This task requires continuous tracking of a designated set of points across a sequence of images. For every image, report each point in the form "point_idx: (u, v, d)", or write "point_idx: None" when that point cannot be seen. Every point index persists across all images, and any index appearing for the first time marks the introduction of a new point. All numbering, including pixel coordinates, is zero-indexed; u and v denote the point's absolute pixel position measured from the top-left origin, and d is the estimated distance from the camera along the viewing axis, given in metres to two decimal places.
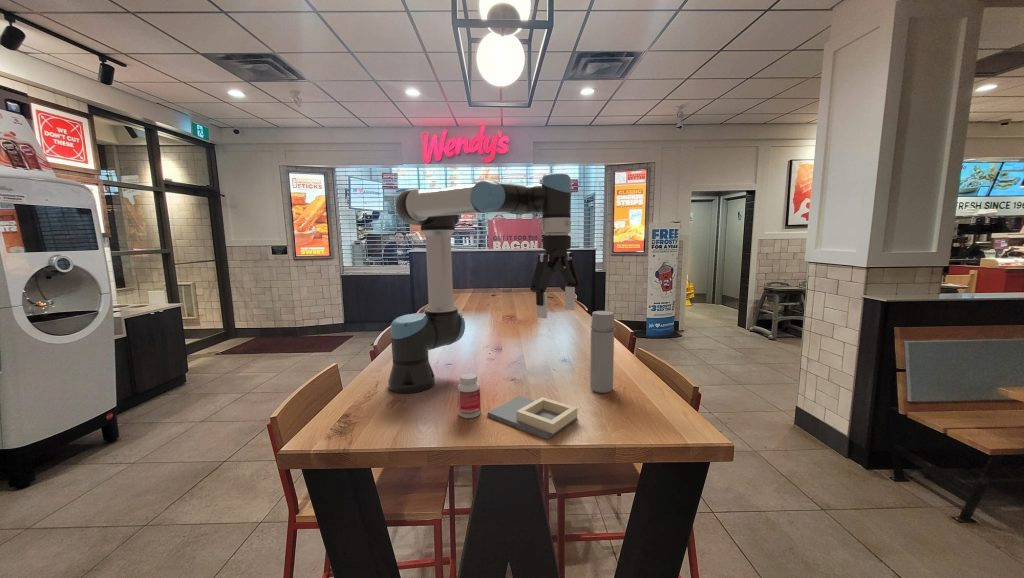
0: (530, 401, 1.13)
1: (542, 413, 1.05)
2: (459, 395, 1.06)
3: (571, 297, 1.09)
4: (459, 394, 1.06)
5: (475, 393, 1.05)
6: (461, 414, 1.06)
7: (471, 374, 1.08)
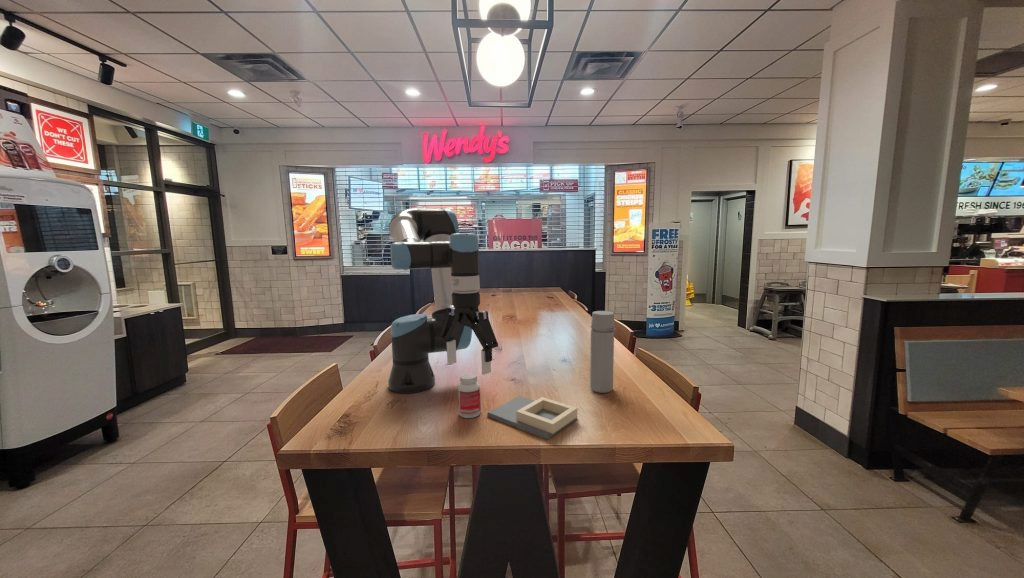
0: (530, 401, 1.13)
1: (542, 413, 1.05)
2: (459, 395, 1.06)
3: None
4: (459, 394, 1.06)
5: (475, 393, 1.05)
6: (461, 414, 1.06)
7: (471, 374, 1.08)
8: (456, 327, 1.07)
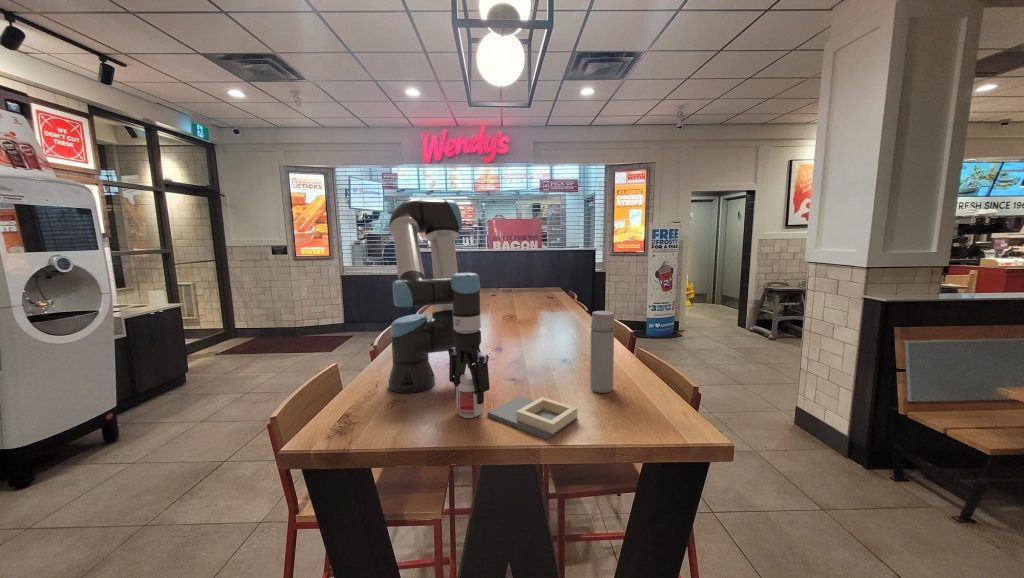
0: (530, 401, 1.13)
1: (542, 413, 1.05)
2: (459, 395, 1.06)
3: None
4: (459, 394, 1.06)
5: None
6: (461, 414, 1.06)
7: None
8: (461, 367, 1.07)
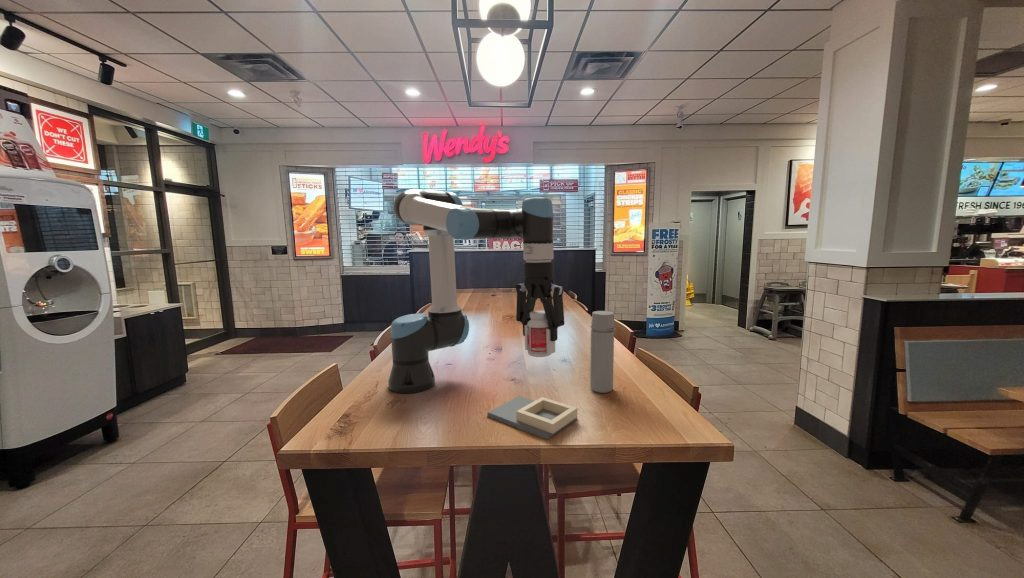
0: (530, 401, 1.13)
1: (542, 413, 1.05)
2: (530, 332, 0.97)
3: None
4: (530, 331, 0.97)
5: None
6: (532, 353, 0.97)
7: (541, 311, 1.00)
8: (531, 303, 0.99)
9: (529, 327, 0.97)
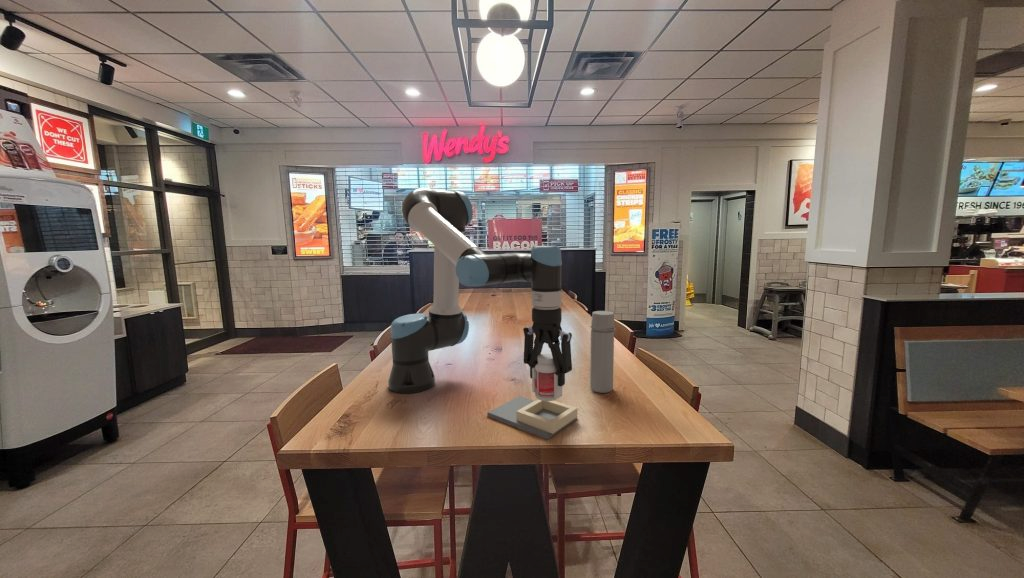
0: (530, 401, 1.13)
1: (542, 413, 1.05)
2: (537, 377, 0.99)
3: None
4: (537, 375, 0.99)
5: None
6: (539, 397, 0.99)
7: (548, 354, 1.01)
8: (539, 347, 1.00)
9: (537, 371, 0.99)
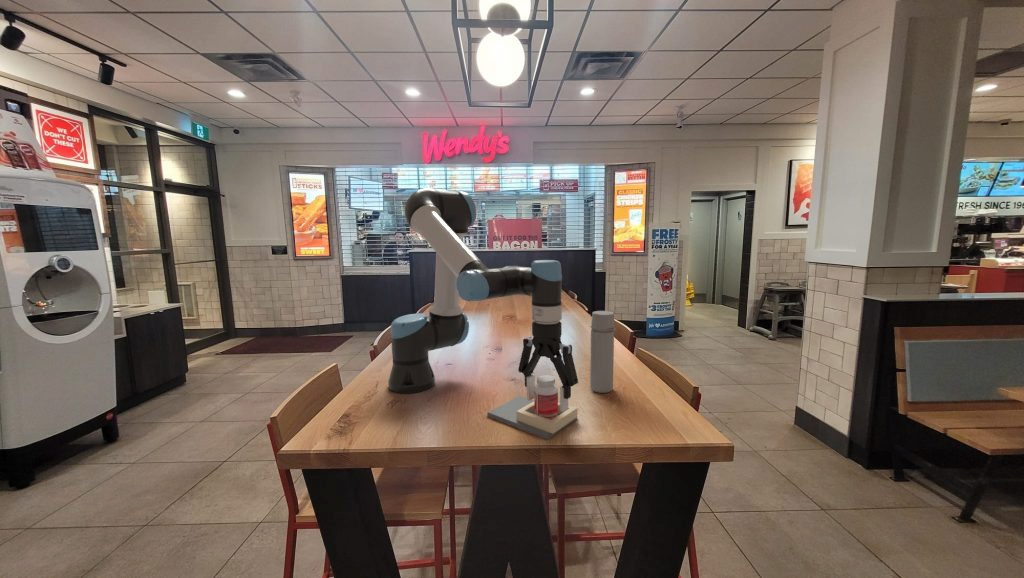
0: (530, 401, 1.13)
1: None
2: (537, 399, 1.00)
3: None
4: (537, 397, 1.00)
5: (554, 396, 0.99)
6: None
7: (548, 376, 1.02)
8: (536, 359, 1.01)
9: (536, 393, 1.00)
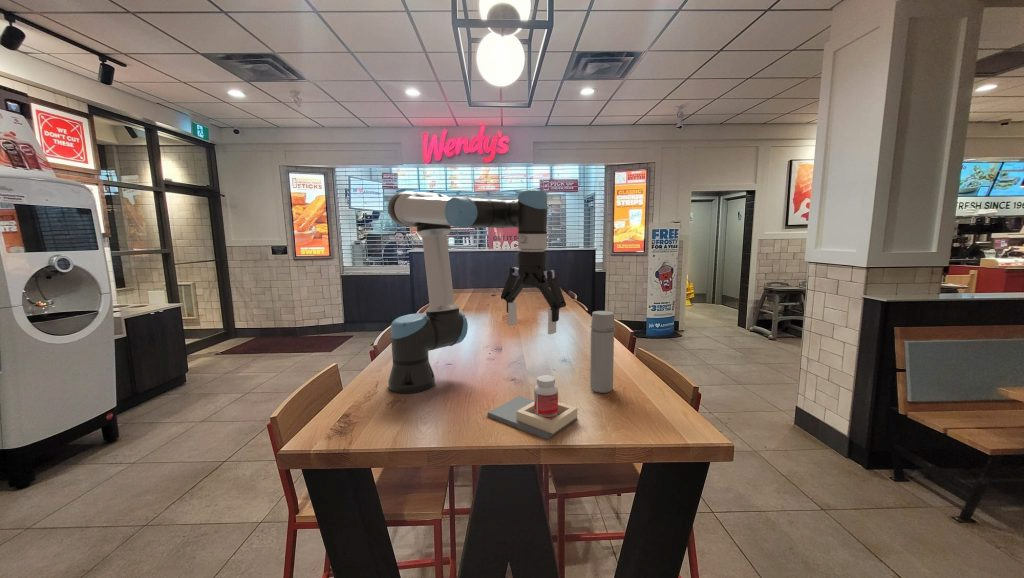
0: (530, 401, 1.13)
1: None
2: (537, 399, 1.00)
3: None
4: (537, 397, 1.00)
5: (554, 396, 0.99)
6: None
7: (548, 376, 1.02)
8: (519, 287, 1.05)
9: (536, 393, 1.00)
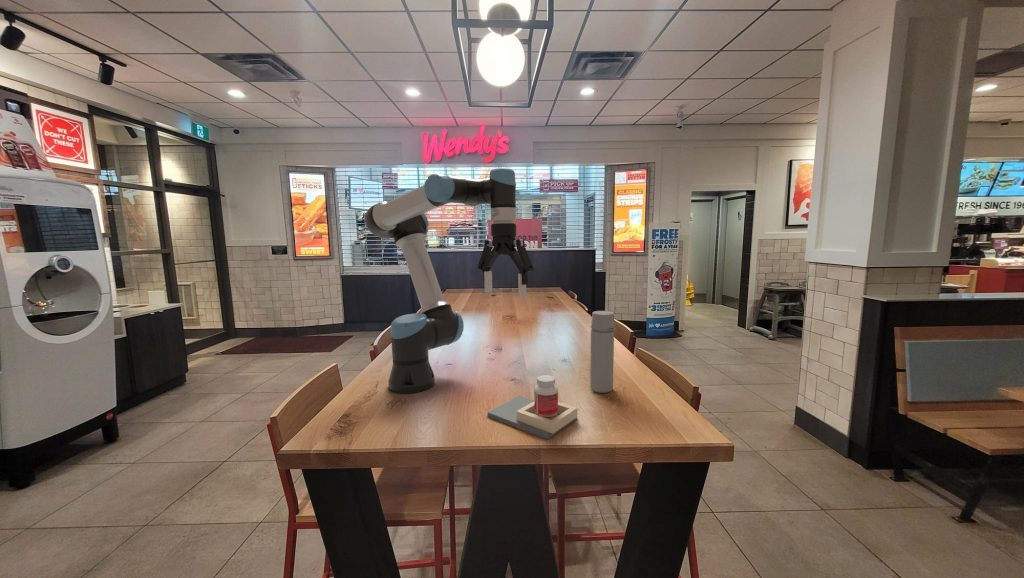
0: (530, 401, 1.13)
1: None
2: (537, 399, 1.00)
3: None
4: (537, 397, 1.00)
5: (554, 396, 0.99)
6: None
7: (548, 376, 1.02)
8: (493, 257, 1.18)
9: (536, 393, 1.00)
